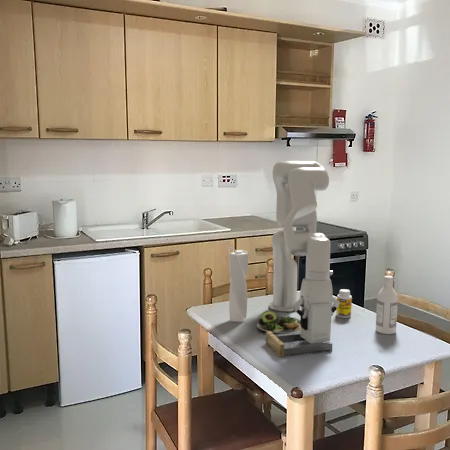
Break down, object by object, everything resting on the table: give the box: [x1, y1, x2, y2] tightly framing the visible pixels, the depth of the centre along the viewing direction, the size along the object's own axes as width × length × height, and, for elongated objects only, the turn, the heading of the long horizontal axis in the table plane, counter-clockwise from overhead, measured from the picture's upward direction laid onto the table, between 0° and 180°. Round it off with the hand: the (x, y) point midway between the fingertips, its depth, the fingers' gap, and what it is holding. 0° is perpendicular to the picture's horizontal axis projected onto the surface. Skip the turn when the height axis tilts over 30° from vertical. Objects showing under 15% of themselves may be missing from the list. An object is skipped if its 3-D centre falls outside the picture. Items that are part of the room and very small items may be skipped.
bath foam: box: [375, 275, 399, 335], centre depth 177 cm, size 7×7×20 cm
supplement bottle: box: [335, 288, 353, 319], centre depth 194 cm, size 6×6×10 cm
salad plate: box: [256, 310, 301, 335], centre depth 181 cm, size 19×18×5 cm
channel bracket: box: [265, 331, 333, 358], centre depth 163 cm, size 12×18×4 cm, turn 106°
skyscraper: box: [227, 246, 250, 323], centre depth 188 cm, size 8×8×28 cm
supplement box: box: [300, 303, 333, 344], centre depth 164 cm, size 7×7×13 cm
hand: (315, 327), depth 164 cm, fingers closed on supplement box, 7 cm apart
